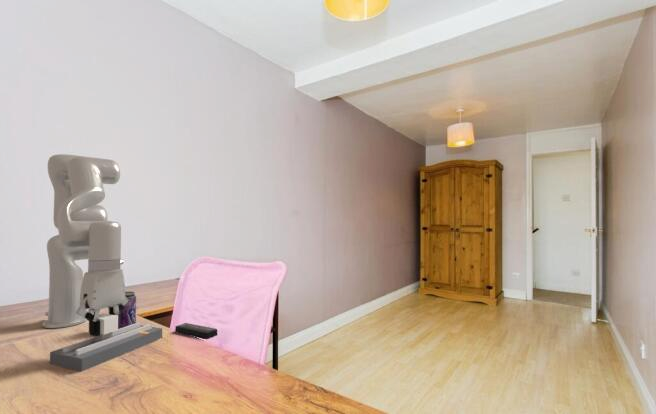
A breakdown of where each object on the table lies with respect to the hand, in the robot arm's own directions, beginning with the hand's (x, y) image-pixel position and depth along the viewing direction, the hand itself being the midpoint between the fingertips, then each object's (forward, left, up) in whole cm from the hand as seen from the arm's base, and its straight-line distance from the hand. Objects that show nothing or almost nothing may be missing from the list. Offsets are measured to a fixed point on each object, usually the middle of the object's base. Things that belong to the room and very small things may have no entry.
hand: (103, 331), depth 92 cm
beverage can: (-13, +17, -6) cm, 22 cm away
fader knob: (0, 0, -3) cm, 3 cm away
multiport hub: (+13, +21, -6) cm, 26 cm away
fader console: (0, +3, -6) cm, 6 cm away
